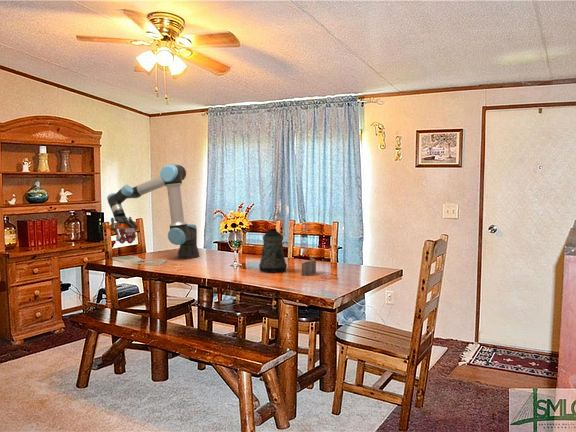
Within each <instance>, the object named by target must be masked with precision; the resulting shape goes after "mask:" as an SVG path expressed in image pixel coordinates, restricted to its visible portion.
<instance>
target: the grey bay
mask: <svg viewBox="0 0 576 432" xmlns="http://www.w3.org/2000/svg"><path fill="white" fill-rule="evenodd" d="M140 261H157V262H140ZM138 262H140V263H138ZM164 262H166V263H167V259H142V260H137V261H135V262H131V265H132V266H134V265H133V264H136V265H135V266H138V265H137V264H146V265H145V266H156V265H160V266H162V265H163V263H164ZM161 264H162V265H161ZM164 264H165V263H164Z"/></svg>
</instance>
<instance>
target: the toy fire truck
mask: <svg viewBox="0 0 576 432" xmlns="http://www.w3.org/2000/svg"><path fill="white" fill-rule="evenodd" d="M118 230H119V229H118ZM135 231H137V229H135V228H130V227H125V228H124V227H121V228H120V230H119V233H120V235H121V237H120V239H118V236H117V235H115V238H116V241H117V242H119V244H121V245H123V244H124V243H125V242H127V243H128V244H132V243H133V242H134V241H136V238H135Z"/></svg>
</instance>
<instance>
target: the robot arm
mask: <svg viewBox="0 0 576 432" xmlns="http://www.w3.org/2000/svg"><path fill="white" fill-rule="evenodd" d="M159 175H160V176H158V177H155V178H152V179H150V180H148V181H145V182H142V183H141V184H138V185H136V186H134V187H131V186H130V185H128V184H125V185H123V186H122V187H121V188H120V189H118V191H117V192H116V193H115V192H113V193H112V192H111V193H110V194H108V195H107V203H108V205H109V207H110V210H111V213H112V217H111V218H110V223H111V224H110V231H111V232H112V231H113V233H114V234H115V236H118V239H120V237H121V235H120V233H119V228H118V227H119V225H121V224H122V225H123V224H124V225H126V226H128V228H135V229H136V231H135V239H136V238H137V237H138V234H137V229H138V225H137V224H136V223H135V221H133V219H132V217H131V216H129V217H128V216H126V213H125V210H124V207H123V206H122V203H124V202H125V200H127V199H139V198H141V197H142V196H144V195H147V194H149V193H150V192H154V191H155V190H158V189H160V188H163V187H166V189H167V197H168V205H169V207H168V208H169V215H170V221H171V223H170V224H169V230H168V232H167V239H168V241H169V242H170V243H171V244H172V245H176V246H179V248H178V250H177V258H179V259H193V258H194V259H195V258H199V257H200V252H199V249H198V244H197V243H198V241H197V240H198V239H197V237H198V232H197V231H198V229H197V225H196V224H192V223H191V224H189V223H187V222H185V216H184V209H183V199H182V198H183V197H182V193H181V192H182V191H181V186H182V184H183V182H182V181H184V180H185V179H186V178H187V177H186V176H187V170H186V168H185V167H184V166H182V165H180V164H166V165H164V166H163V167H162V168H161V169H160V174H159ZM115 222H116V224H115Z"/></svg>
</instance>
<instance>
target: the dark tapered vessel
mask: <svg viewBox="0 0 576 432" xmlns="http://www.w3.org/2000/svg"><path fill="white" fill-rule="evenodd" d="M265 232H266V233H265V234H263V236H262V240H263V245H262V252H261V259H260V262H259V264H258V266H259V272H261V273H267V274H281V272H282V273H284V272H286V271H287V268H288V267H287V266H288V265H287V263H286V259H285V254H284V246H283V240H284V236H283V235H282V234H281V233H280V232H279V231H278V229H276V228H269V229H268V231H265Z"/></svg>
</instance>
